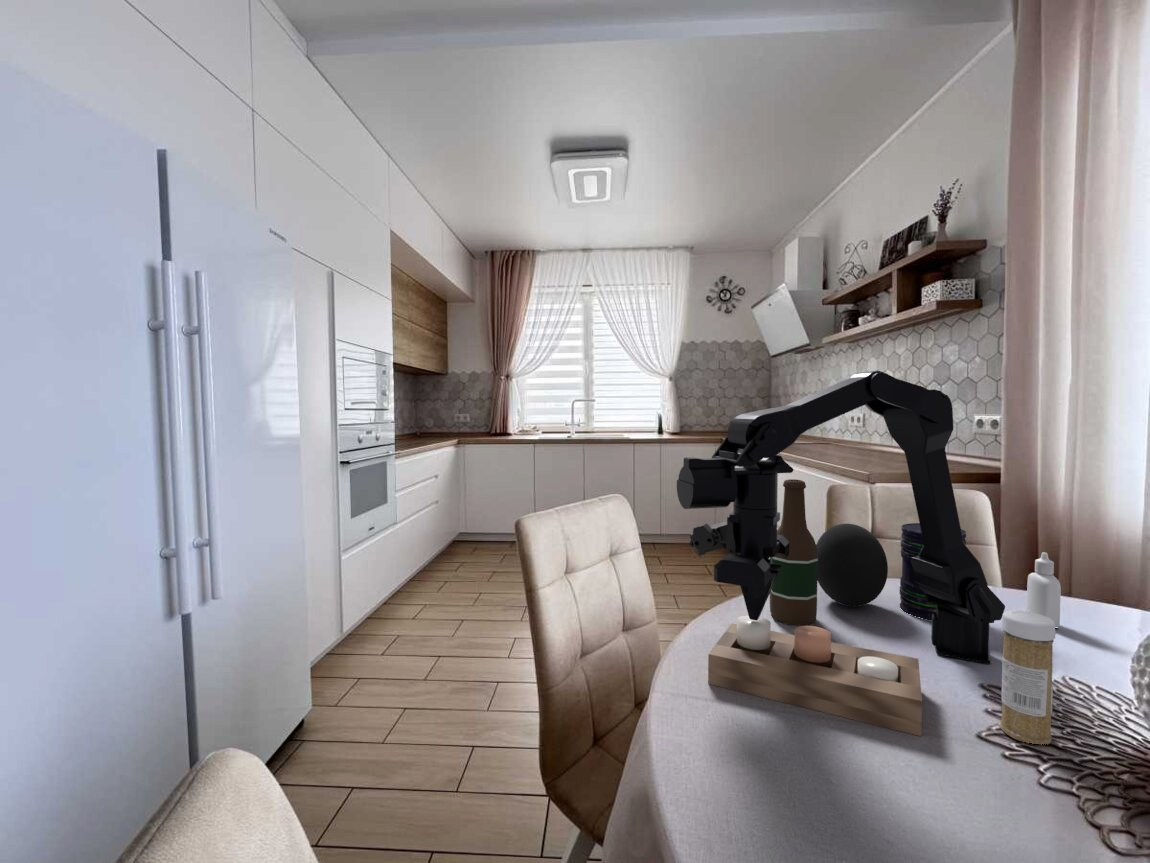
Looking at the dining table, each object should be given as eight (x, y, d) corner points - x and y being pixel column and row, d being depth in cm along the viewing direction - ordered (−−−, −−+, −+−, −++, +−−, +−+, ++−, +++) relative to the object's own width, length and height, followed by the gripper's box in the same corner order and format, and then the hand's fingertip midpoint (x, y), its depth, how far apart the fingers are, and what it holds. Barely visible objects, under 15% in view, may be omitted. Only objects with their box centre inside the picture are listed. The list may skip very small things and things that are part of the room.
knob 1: (773, 640, 77) (773, 619, 77) (766, 652, 74) (767, 630, 74) (740, 634, 80) (741, 613, 80) (733, 645, 76) (733, 623, 76)
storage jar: (978, 622, 94) (981, 535, 94) (920, 622, 95) (922, 535, 94) (940, 602, 104) (942, 523, 104) (888, 602, 104) (889, 523, 104)
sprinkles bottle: (1058, 738, 62) (1062, 618, 61) (1042, 752, 59) (1046, 627, 58) (1008, 719, 65) (1011, 605, 65) (991, 731, 63) (995, 613, 62)
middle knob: (832, 651, 74) (832, 629, 74) (828, 665, 70) (829, 641, 70) (796, 645, 76) (797, 623, 76) (791, 657, 72) (792, 634, 72)
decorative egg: (875, 622, 95) (877, 535, 94) (802, 605, 103) (803, 524, 102) (894, 603, 104) (896, 523, 103) (826, 589, 112) (827, 515, 111)
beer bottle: (812, 630, 92) (815, 484, 90) (764, 620, 96) (765, 481, 95) (820, 615, 98) (822, 479, 97) (774, 606, 102) (775, 476, 101)
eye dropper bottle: (1059, 621, 95) (1062, 551, 94) (1059, 631, 91) (1062, 558, 90) (1026, 615, 98) (1028, 547, 97) (1025, 624, 93) (1027, 554, 93)
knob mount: (917, 688, 72) (918, 658, 72) (921, 736, 62) (922, 701, 62) (731, 649, 84) (731, 623, 84) (708, 683, 74) (708, 654, 74)
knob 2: (897, 684, 70) (897, 661, 70) (897, 700, 66) (898, 675, 66) (858, 676, 72) (858, 653, 72) (856, 691, 68) (856, 667, 68)
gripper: (715, 492, 88) (714, 590, 89) (674, 512, 72) (674, 631, 72) (790, 498, 82) (789, 602, 83) (764, 520, 66) (763, 649, 67)
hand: (754, 619), depth 77 cm, fingers closed
